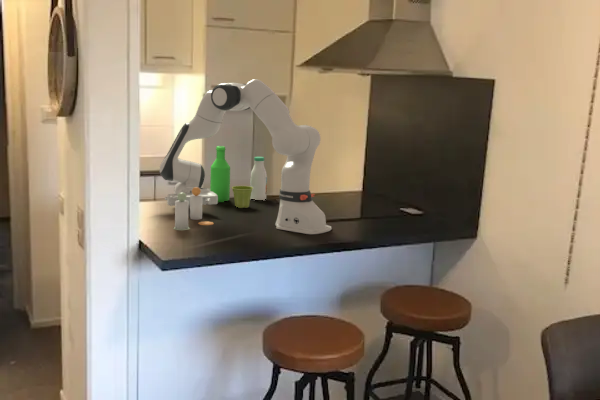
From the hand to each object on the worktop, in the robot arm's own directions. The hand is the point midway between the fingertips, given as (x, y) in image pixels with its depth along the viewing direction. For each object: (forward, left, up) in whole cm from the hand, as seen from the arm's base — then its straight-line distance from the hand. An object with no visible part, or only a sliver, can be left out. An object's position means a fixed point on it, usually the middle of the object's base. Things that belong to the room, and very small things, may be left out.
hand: (196, 203), depth 253 cm
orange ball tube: (-1, 0, -7) cm, 7 cm away
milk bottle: (+13, -51, -7) cm, 53 cm away
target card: (-10, +10, -7) cm, 15 cm away
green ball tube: (-10, +15, -6) cm, 19 cm away
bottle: (+22, -34, -7) cm, 42 cm away
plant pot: (+6, -32, -7) cm, 34 cm away
